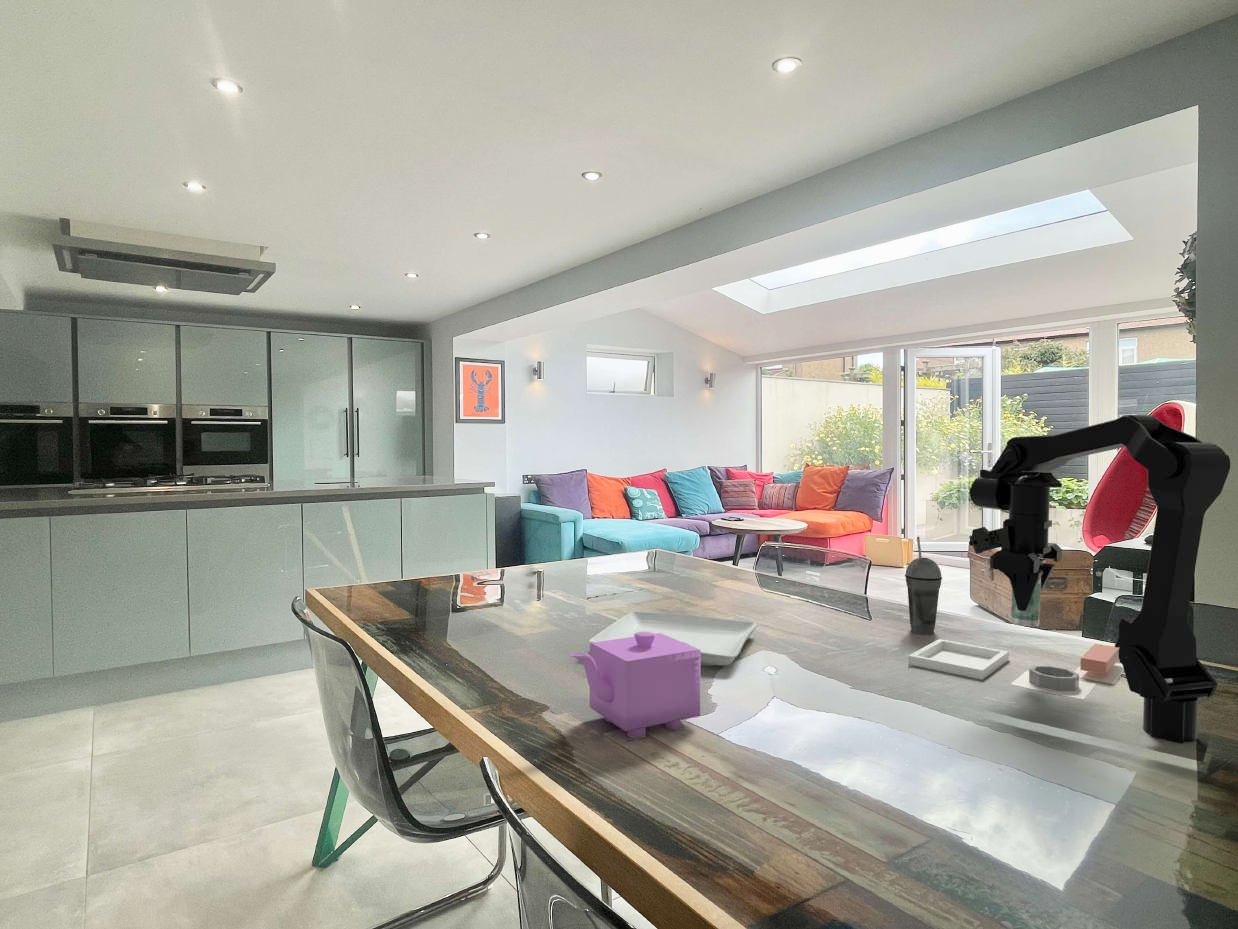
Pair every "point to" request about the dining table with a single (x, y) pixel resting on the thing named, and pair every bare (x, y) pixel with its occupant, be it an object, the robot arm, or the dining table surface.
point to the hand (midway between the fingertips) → (1025, 608)
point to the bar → (1099, 659)
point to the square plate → (686, 633)
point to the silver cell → (1028, 610)
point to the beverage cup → (923, 593)
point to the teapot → (643, 681)
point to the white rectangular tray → (959, 658)
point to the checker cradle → (1065, 680)
